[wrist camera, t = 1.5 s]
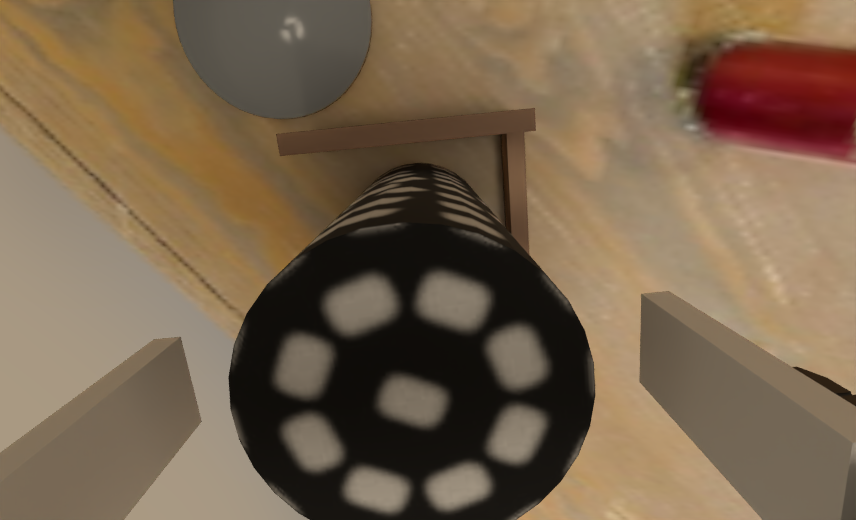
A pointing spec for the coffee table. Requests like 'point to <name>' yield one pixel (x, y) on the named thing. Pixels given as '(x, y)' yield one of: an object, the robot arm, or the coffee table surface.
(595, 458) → the coffee table surface
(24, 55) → the coffee table surface
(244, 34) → the coaster
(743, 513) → the coffee table surface
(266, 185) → the coffee table surface
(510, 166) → the rack
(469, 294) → the spotted tube
